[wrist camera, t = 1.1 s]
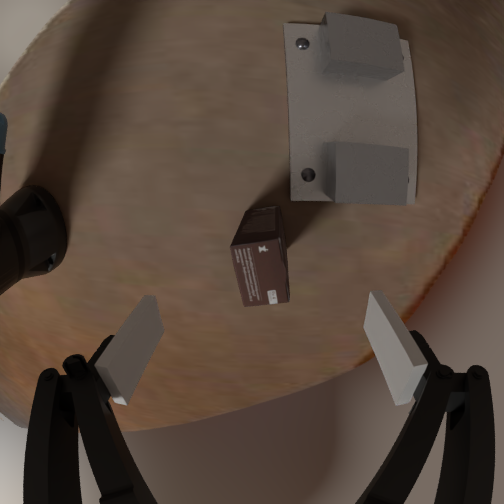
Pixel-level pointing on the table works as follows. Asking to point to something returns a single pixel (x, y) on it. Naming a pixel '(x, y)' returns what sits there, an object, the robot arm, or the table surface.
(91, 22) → the table surface
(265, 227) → the box
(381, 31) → the wall mount bracket
